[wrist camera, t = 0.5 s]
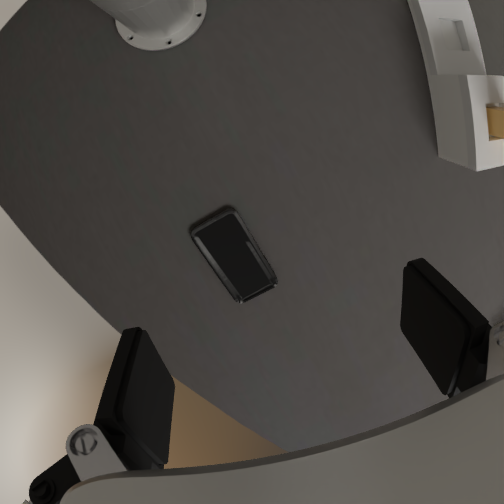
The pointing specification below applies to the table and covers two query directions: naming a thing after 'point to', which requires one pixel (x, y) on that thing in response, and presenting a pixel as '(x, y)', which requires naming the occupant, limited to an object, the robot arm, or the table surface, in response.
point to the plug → (495, 121)
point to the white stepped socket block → (458, 83)
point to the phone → (234, 256)
